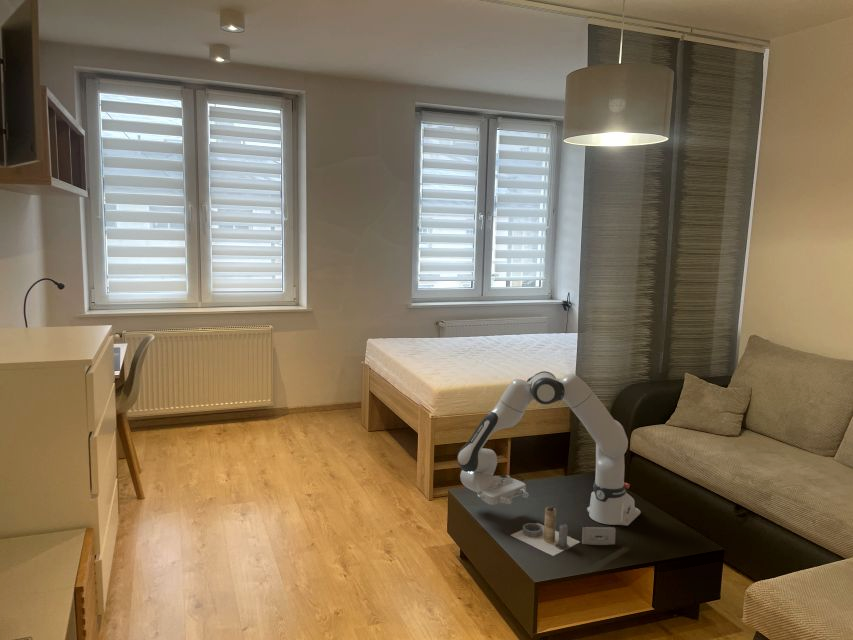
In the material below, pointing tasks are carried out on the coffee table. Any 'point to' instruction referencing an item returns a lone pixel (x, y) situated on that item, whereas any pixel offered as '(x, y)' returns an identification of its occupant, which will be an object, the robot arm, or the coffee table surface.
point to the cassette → (598, 531)
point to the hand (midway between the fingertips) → (519, 498)
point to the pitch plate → (535, 538)
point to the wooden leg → (549, 524)
